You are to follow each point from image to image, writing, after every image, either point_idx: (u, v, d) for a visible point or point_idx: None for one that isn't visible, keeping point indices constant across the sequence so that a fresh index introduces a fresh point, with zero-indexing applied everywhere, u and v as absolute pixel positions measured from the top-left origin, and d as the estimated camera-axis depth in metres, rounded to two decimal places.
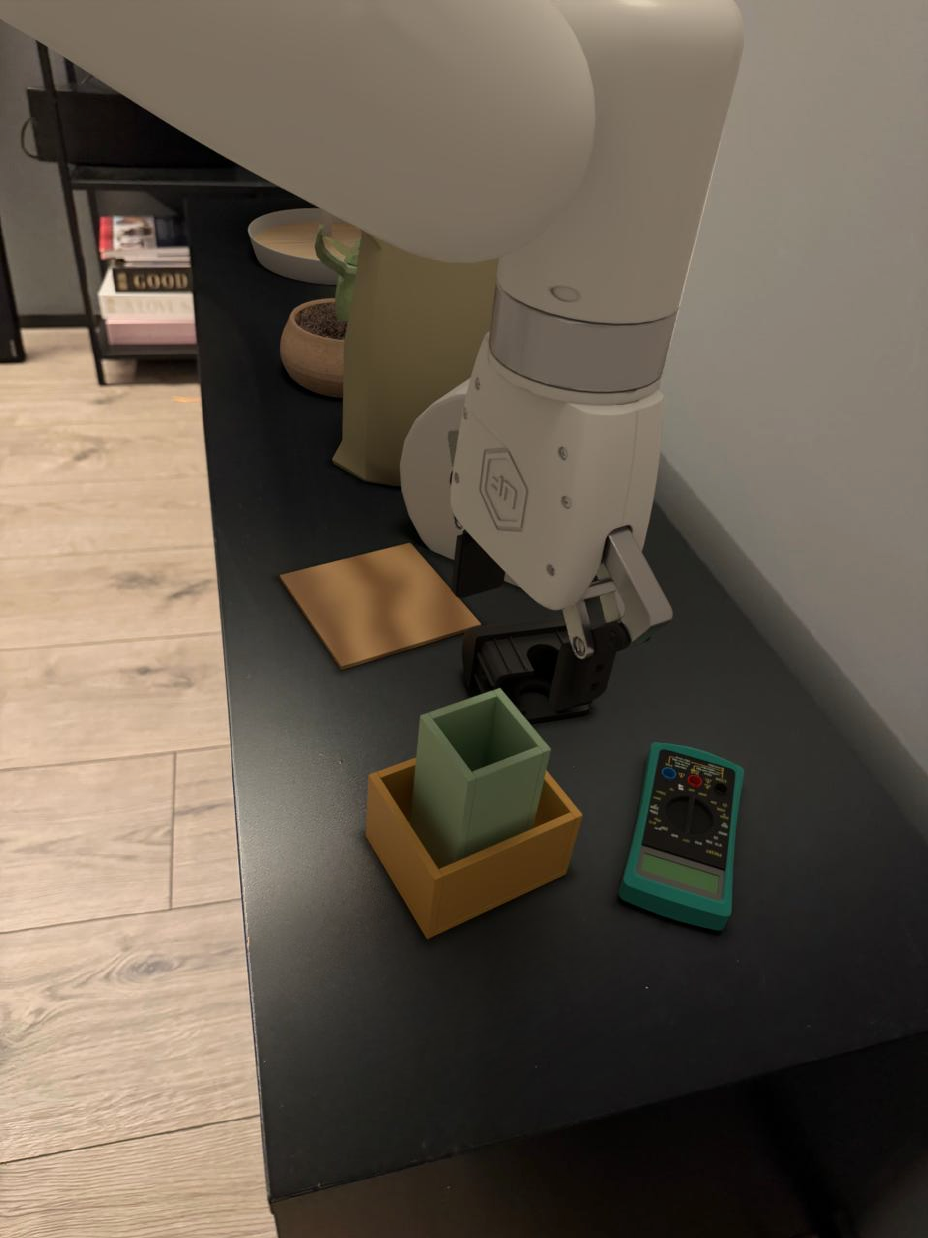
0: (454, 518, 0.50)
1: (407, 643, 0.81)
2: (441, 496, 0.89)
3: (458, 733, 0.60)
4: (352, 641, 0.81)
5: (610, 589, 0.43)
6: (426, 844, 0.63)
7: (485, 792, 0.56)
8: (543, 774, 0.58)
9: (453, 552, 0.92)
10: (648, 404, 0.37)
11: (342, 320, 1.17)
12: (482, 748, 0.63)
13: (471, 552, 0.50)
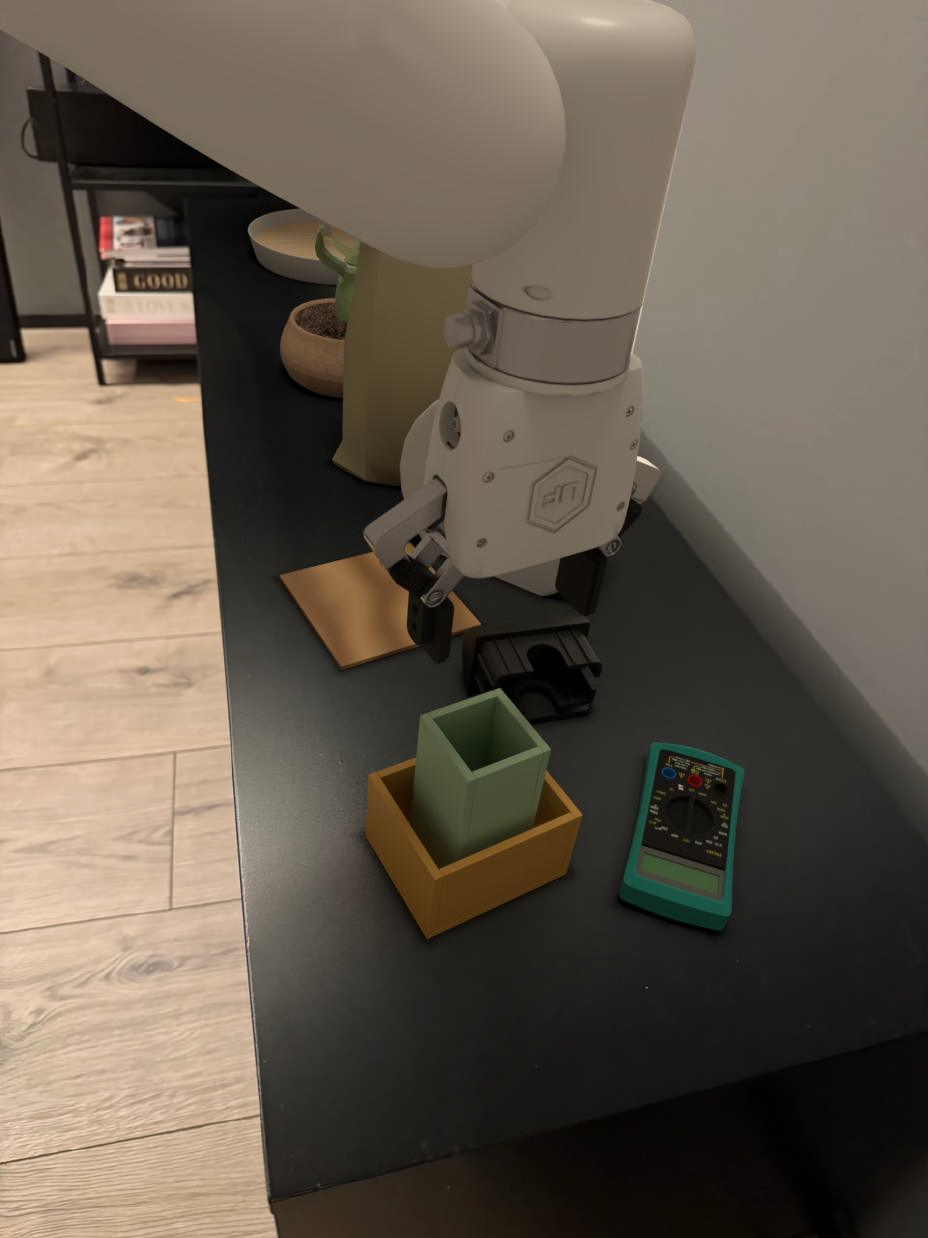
0: (426, 601, 0.45)
1: (407, 643, 0.81)
2: None
3: (458, 733, 0.60)
4: (352, 641, 0.81)
5: None
6: (426, 844, 0.63)
7: (485, 792, 0.56)
8: (543, 774, 0.58)
9: None
10: None
11: (342, 320, 1.17)
12: (482, 748, 0.63)
13: None
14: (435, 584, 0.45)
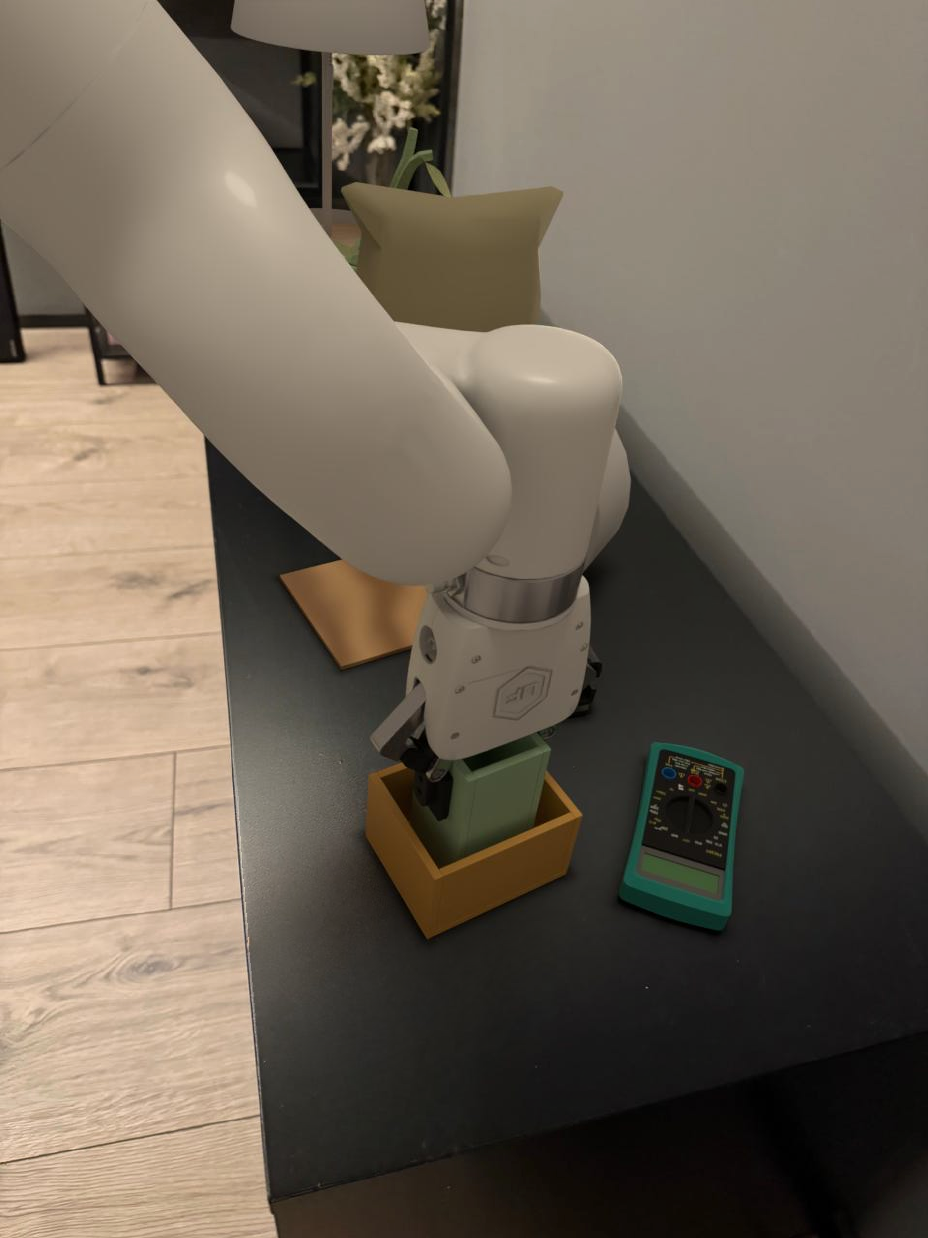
0: (431, 779, 0.55)
1: (407, 643, 0.81)
2: None
3: None
4: (352, 641, 0.81)
5: None
6: (426, 844, 0.63)
7: (485, 792, 0.56)
8: (543, 774, 0.58)
9: None
10: None
11: None
12: None
13: None
14: (434, 767, 0.54)
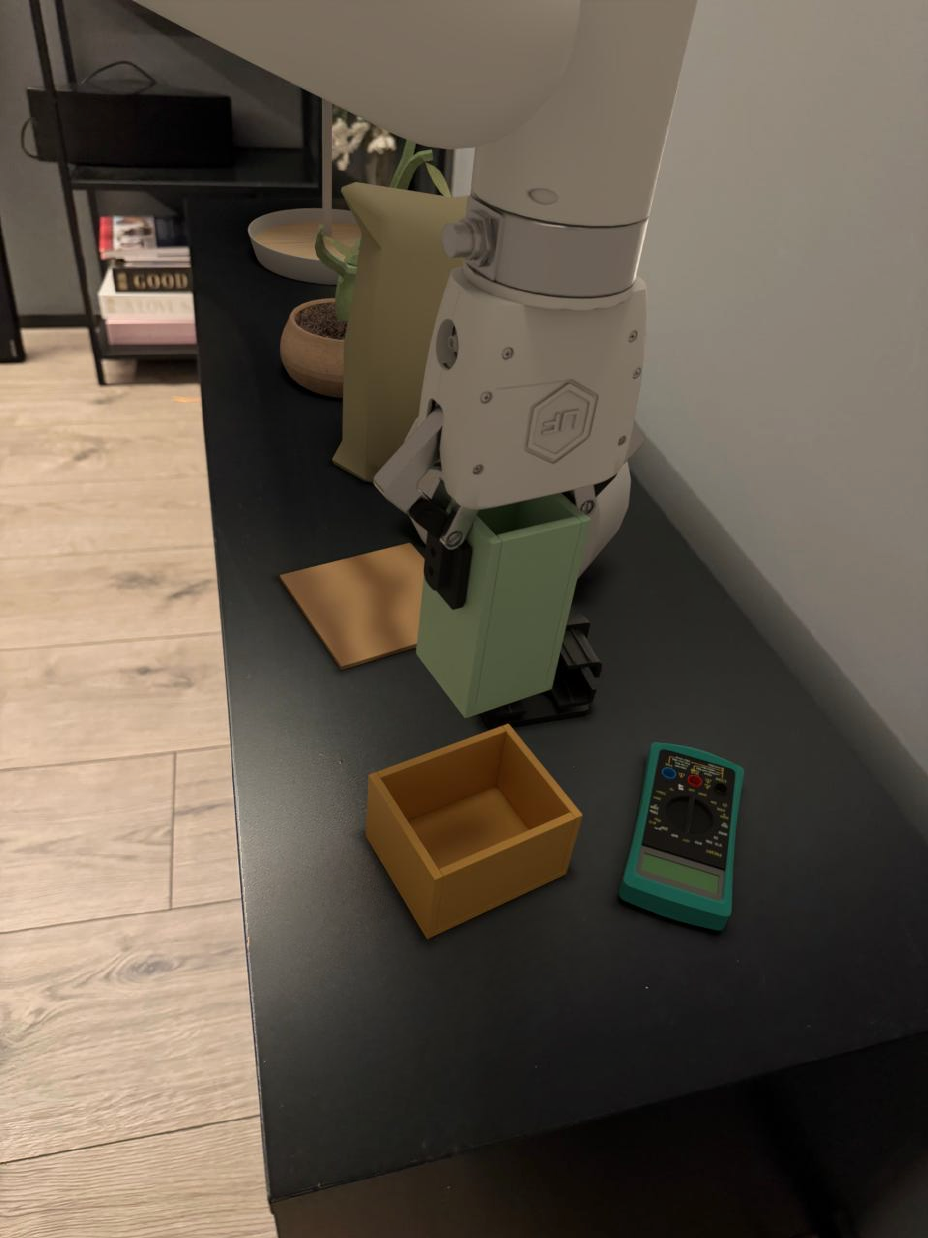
0: (446, 544, 0.45)
1: (407, 643, 0.81)
2: None
3: (477, 515, 0.50)
4: (352, 641, 0.81)
5: None
6: (437, 657, 0.53)
7: (511, 565, 0.46)
8: (580, 556, 0.48)
9: None
10: None
11: (342, 320, 1.17)
12: None
13: None
14: (450, 527, 0.45)
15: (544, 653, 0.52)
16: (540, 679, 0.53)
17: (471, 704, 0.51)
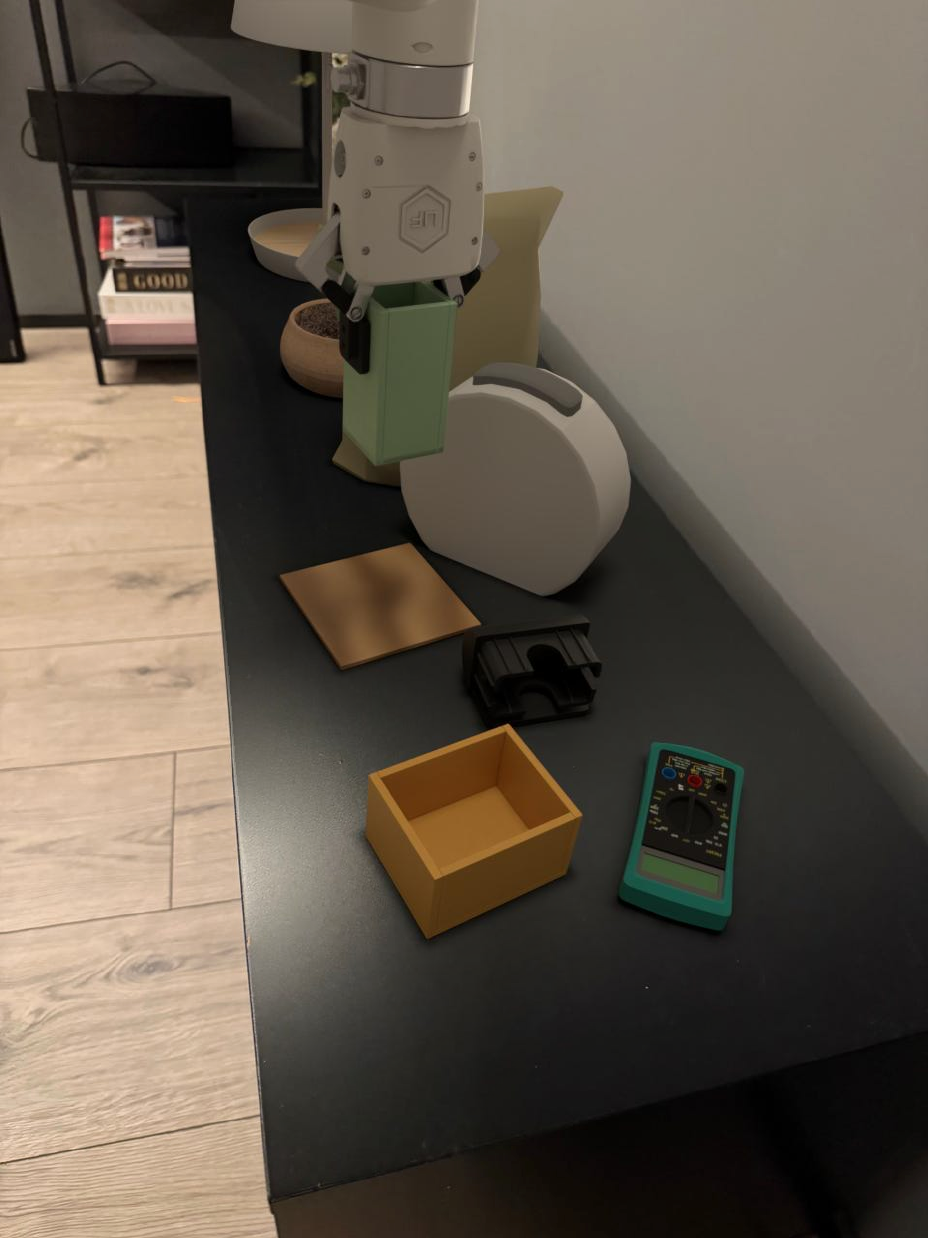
0: (350, 317, 0.64)
1: (407, 643, 0.81)
2: (441, 496, 0.89)
3: None
4: (352, 641, 0.81)
5: None
6: (355, 425, 0.71)
7: (398, 334, 0.64)
8: (452, 334, 0.67)
9: (453, 552, 0.92)
10: None
11: None
12: None
13: None
14: (352, 302, 0.63)
15: (433, 417, 0.70)
16: (433, 441, 0.72)
17: (379, 453, 0.70)
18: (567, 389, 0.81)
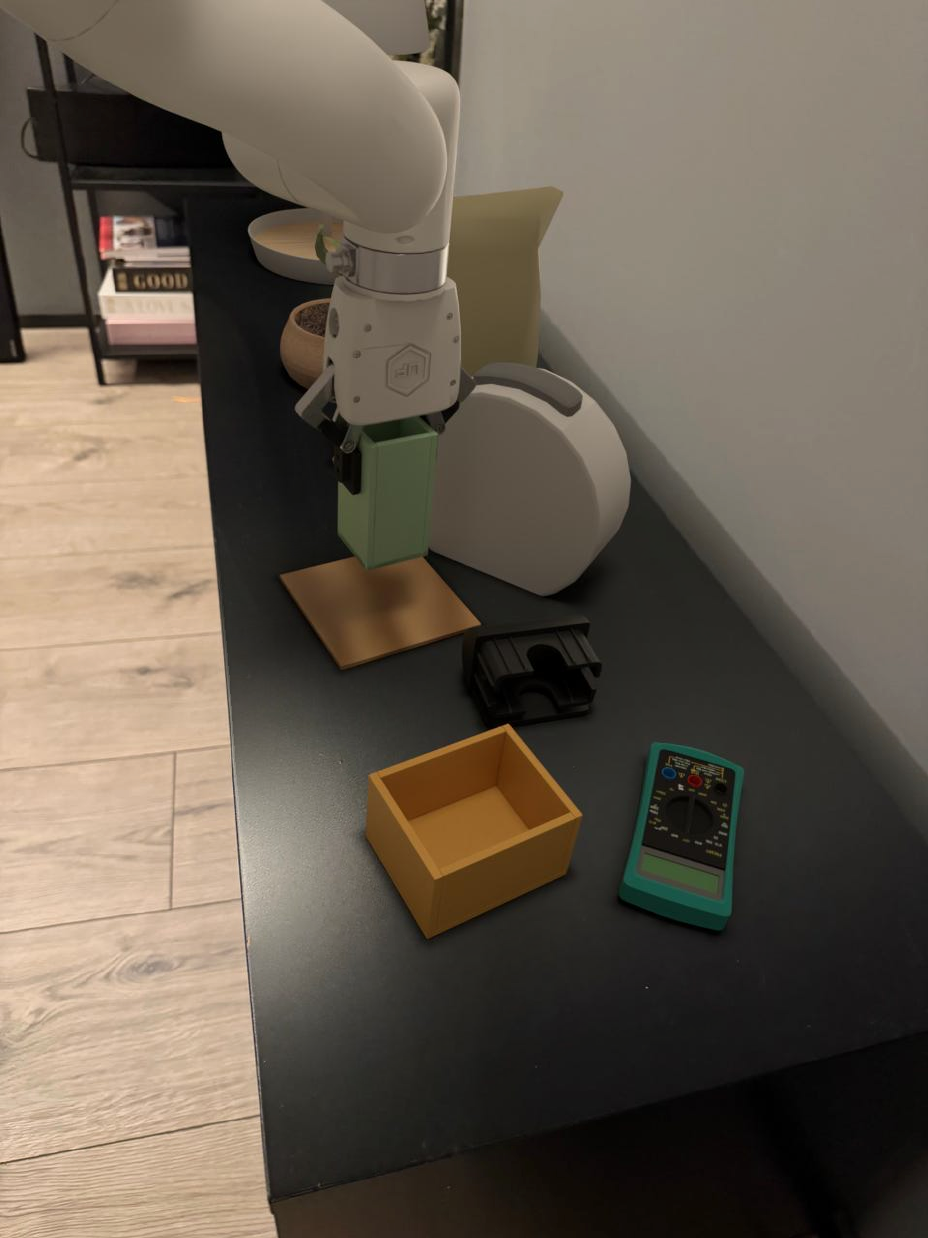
0: (344, 450, 0.72)
1: (407, 643, 0.81)
2: (441, 496, 0.89)
3: (371, 435, 0.77)
4: (352, 641, 0.81)
5: None
6: (349, 533, 0.80)
7: (386, 463, 0.73)
8: (434, 459, 0.75)
9: (453, 552, 0.92)
10: None
11: None
12: None
13: None
14: (345, 438, 0.72)
15: (418, 527, 0.79)
16: (418, 547, 0.80)
17: (370, 561, 0.78)
18: (567, 389, 0.81)
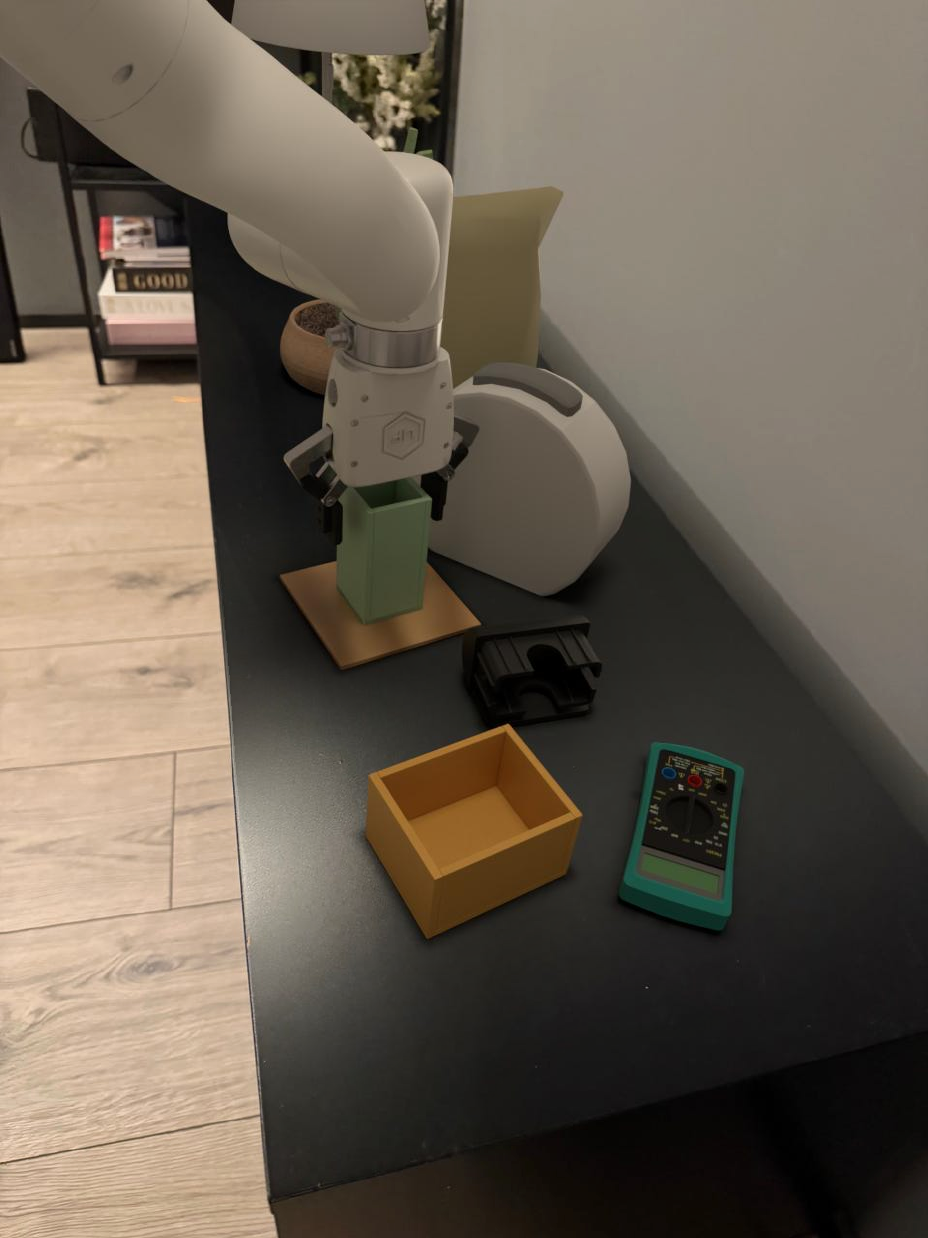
0: (324, 502, 0.74)
1: (407, 643, 0.81)
2: None
3: (368, 497, 0.81)
4: (352, 641, 0.81)
5: None
6: (347, 588, 0.84)
7: (382, 527, 0.77)
8: (428, 521, 0.79)
9: (453, 552, 0.92)
10: None
11: None
12: None
13: None
14: (329, 491, 0.74)
15: (413, 584, 0.83)
16: (413, 602, 0.84)
17: (367, 616, 0.82)
18: (567, 389, 0.81)
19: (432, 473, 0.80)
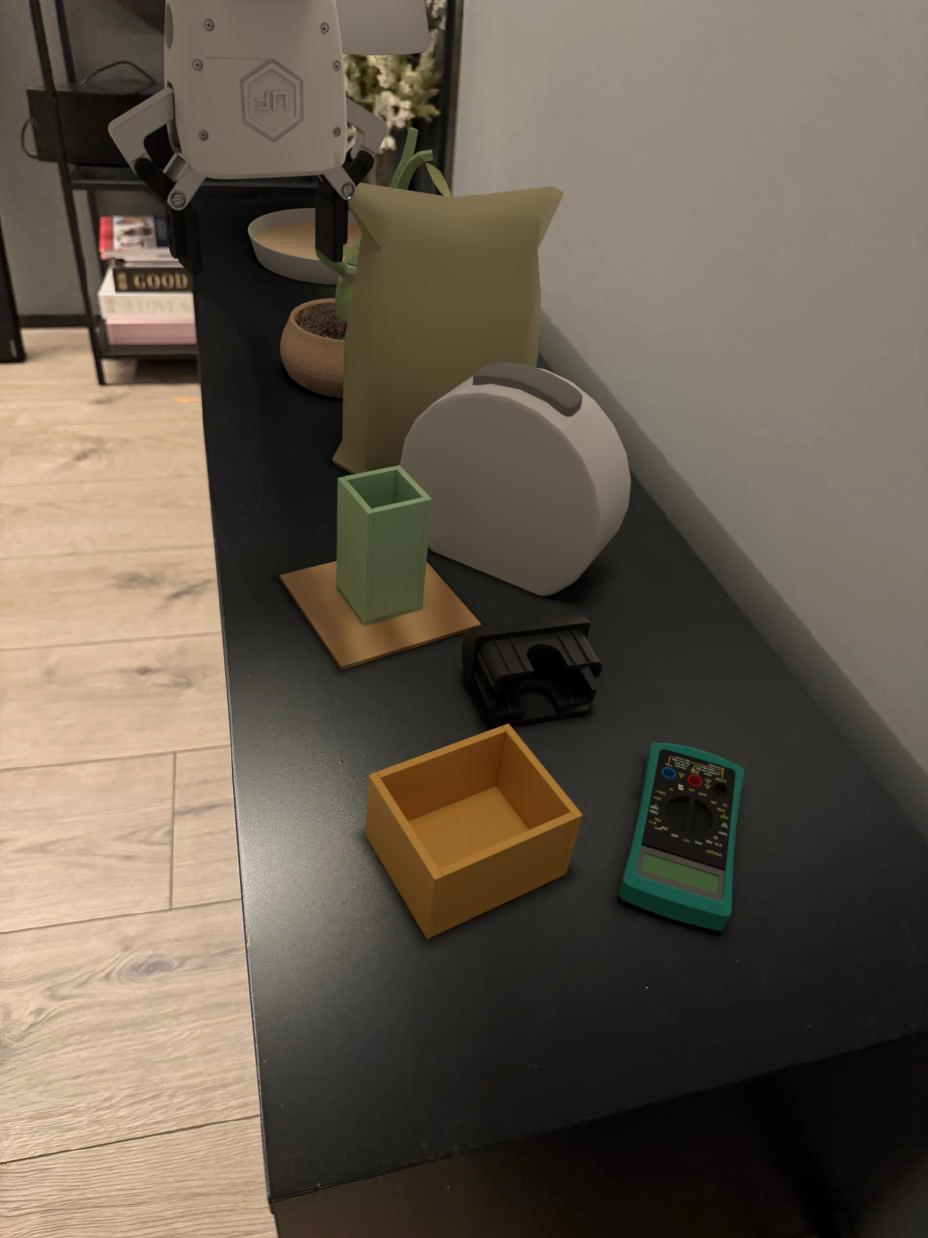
0: (170, 201, 0.55)
1: (407, 643, 0.81)
2: (441, 496, 0.89)
3: (368, 497, 0.81)
4: (352, 641, 0.81)
5: None
6: (347, 588, 0.84)
7: (382, 527, 0.77)
8: (428, 521, 0.79)
9: (453, 552, 0.92)
10: None
11: (342, 320, 1.17)
12: None
13: None
14: (175, 184, 0.55)
15: (413, 584, 0.83)
16: (413, 602, 0.84)
17: (367, 616, 0.82)
18: (567, 389, 0.81)
19: (327, 191, 0.61)
